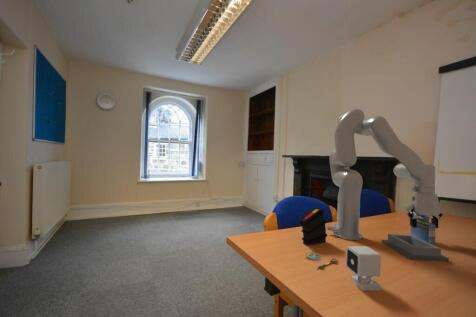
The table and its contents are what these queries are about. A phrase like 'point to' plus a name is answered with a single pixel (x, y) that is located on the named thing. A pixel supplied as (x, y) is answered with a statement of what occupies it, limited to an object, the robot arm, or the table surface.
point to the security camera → (363, 266)
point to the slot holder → (414, 248)
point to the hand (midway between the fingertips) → (424, 227)
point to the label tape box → (424, 230)
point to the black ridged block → (313, 227)
